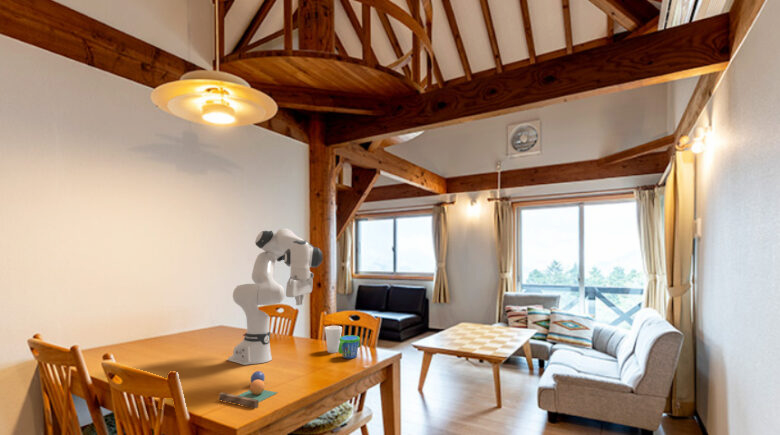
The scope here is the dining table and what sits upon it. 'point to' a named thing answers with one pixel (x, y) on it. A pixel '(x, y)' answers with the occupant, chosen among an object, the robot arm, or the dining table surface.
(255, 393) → the orange ball
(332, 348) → the foam cup
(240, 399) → the rail
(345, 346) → the snack cup
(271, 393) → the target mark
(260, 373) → the blue ball
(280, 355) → the dining table surface
